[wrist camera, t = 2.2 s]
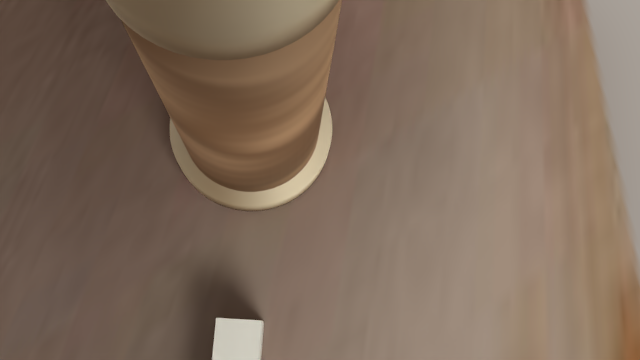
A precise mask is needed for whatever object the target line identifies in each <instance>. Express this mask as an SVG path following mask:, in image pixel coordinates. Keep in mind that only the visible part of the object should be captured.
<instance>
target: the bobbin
mask: <svg viewBox="0 0 640 360" xmlns="http://www.w3.org/2000/svg"><path fill="white" fill-rule="evenodd" d="M106 2H107V3H108V5H109V6H110V7H111V8H112V10H113V11H114V12H115V14H116V15H117V16H118V17H119V18H120V19H121V21H122V23H123V25H124V27H125V29H126V31H127V33H128V35H129V37H130V39H131V41H132V43H133V45H134V47H135V49H136V51H137V53H138V55H139V57H140V59H141V61H142V63H143V64H144V66H145V68H146V70H147V72H148V74H149V76H150V78H151V80H152V82H153V84H154V86H155V88H156V90H157V92H158V94H159V96H160V98H161V100H162V102H163V104H164V106H165V108H166V110H167V112H168V114H169V116H170V130H169V131H170V141H171V146H172V150H173V153H174V155H175V158H176V160H177V162H178V164H179V166H180V168H181V169H182V171H183V173H184V175H185V176H186V178H187V179H188V180H189V182H190V183H191V184H192V185H193V186H194V187H195V188H196V189H197V190H198V191H199V192H200V193H201V194H203V195H204V196H205V197H206V198H208V199H210V200H212V201H213V202H215V203H217V204H220V205H222V206H224V207H228V208H231V209H235V210H242V211H261V210H268V209H272V208H276V207H279V206H281V205H284V204H286V203H288V202H290V201H292V200H294V199H295V198H297V197H298V196H300V195H301V194H302V193H304V192H305V191H306V190H307V189H308V188H309V187H310V186H311V185H312V184H313V182H314V181H315V180H316V179H317V177H318V176H319V174H320V172H321V171H322V169H323V167H324V164H325V162H326V160H327V156H328V152H329V148H330V144H331V138H332V119H331V112H330V109H329V106H328V102H327V100H326V98H325V95H326V89H327V84H328V78H329V72H330V66H331V61H332V55H333V49H334V44H335V38H336V32H337V26H338V21H339V15H340V9H341V3H342V0H106Z"/></svg>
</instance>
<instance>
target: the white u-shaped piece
mask: <svg viewBox="0 0 640 360" xmlns="http://www.w3.org/2000/svg"><path fill="white" fill-rule="evenodd" d="M263 329H264V322H263V321H261V320H245V319H229V318H216V324H215V334H214V344H213V354H212V360H261V355H262V342H263Z"/></svg>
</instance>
